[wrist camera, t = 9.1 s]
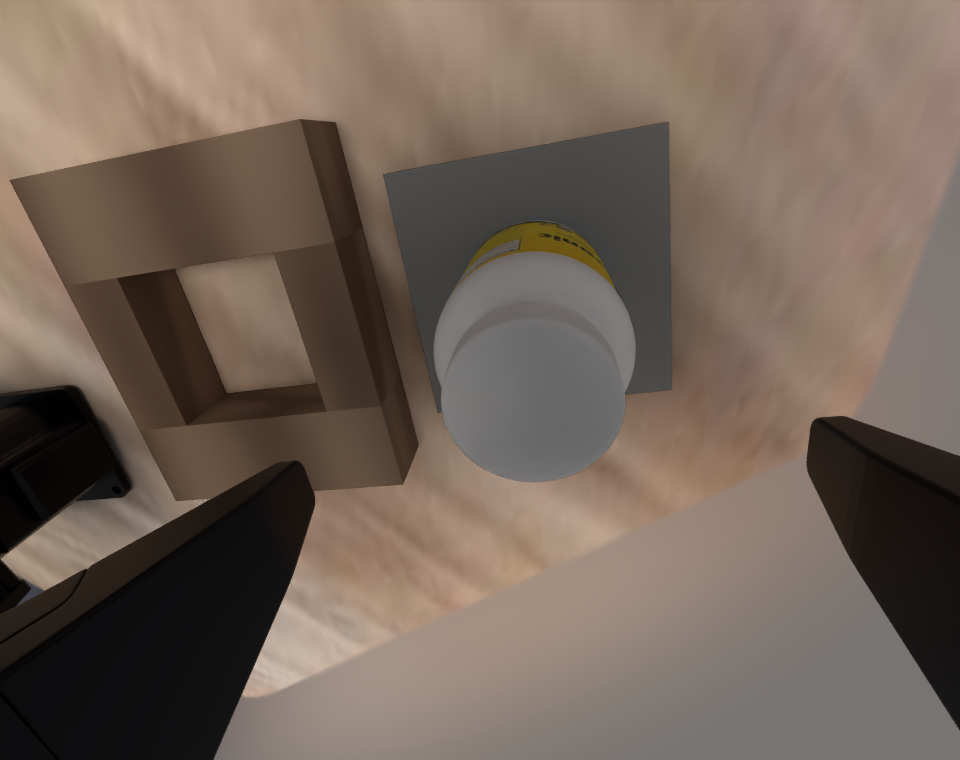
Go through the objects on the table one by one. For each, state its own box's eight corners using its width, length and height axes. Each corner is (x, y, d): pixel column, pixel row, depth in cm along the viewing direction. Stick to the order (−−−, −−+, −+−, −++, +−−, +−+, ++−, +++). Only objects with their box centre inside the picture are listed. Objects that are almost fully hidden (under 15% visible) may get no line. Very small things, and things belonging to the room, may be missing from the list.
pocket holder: (213, 463, 26) (176, 501, 23) (80, 174, 20) (9, 180, 17) (418, 445, 24) (402, 484, 21) (335, 122, 18) (300, 119, 16)
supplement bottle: (633, 304, 19) (709, 441, 11) (518, 376, 21) (502, 543, 12) (554, 184, 18) (566, 229, 9) (438, 273, 20) (355, 382, 11)
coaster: (440, 406, 23) (438, 412, 22) (387, 173, 19) (383, 174, 18) (668, 383, 21) (671, 390, 21) (664, 122, 17) (668, 122, 17)
